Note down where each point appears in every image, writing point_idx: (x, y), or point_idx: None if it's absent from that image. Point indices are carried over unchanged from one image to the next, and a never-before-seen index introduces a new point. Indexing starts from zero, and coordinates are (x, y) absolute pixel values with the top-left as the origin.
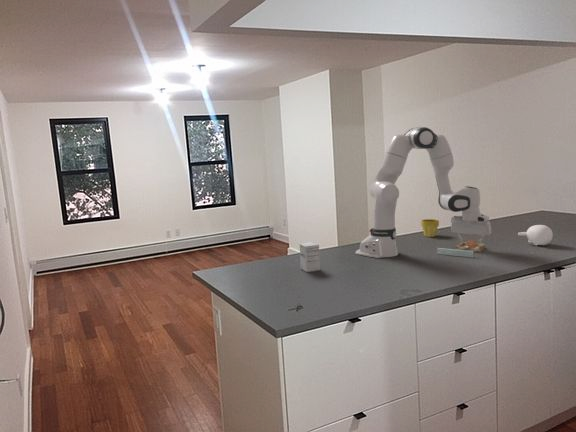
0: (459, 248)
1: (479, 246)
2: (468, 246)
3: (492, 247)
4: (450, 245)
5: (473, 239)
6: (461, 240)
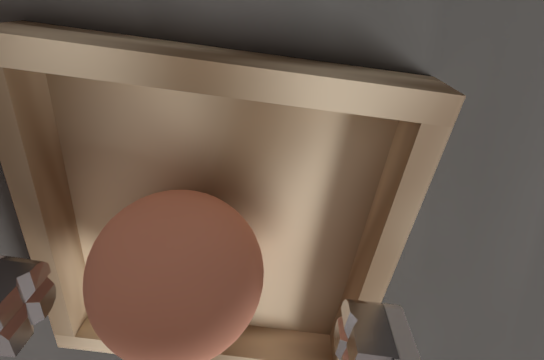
0: (375, 78)
1: None
2: (229, 205)
3: (33, 336)
4: (480, 331)
5: (114, 344)
6: (367, 317)
